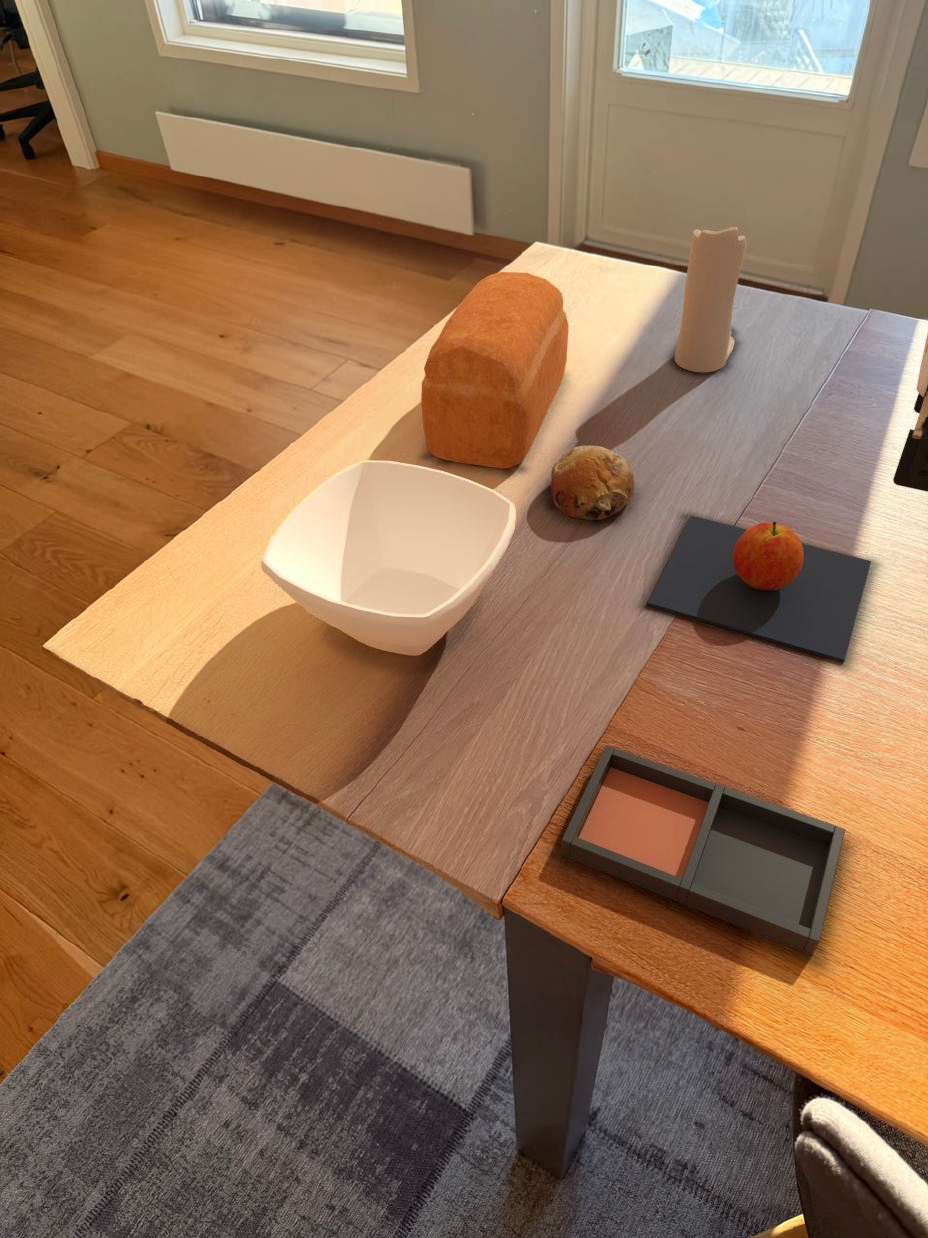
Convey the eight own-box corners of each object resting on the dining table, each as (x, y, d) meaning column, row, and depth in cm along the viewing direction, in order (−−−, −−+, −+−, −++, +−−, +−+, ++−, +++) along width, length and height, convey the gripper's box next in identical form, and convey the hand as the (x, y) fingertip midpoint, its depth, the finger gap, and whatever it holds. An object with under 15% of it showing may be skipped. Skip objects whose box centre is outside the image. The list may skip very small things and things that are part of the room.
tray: (838, 843, 75) (845, 828, 73) (812, 956, 68) (819, 942, 67) (604, 760, 82) (606, 744, 80) (560, 854, 75) (561, 840, 73)
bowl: (368, 527, 107) (355, 444, 98) (540, 581, 99) (542, 496, 91) (254, 652, 93) (229, 567, 85) (443, 726, 85) (435, 641, 77)
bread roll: (632, 510, 113) (642, 445, 110) (624, 528, 103) (634, 459, 100) (554, 499, 115) (561, 435, 112) (539, 516, 105) (547, 448, 103)
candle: (742, 332, 136) (769, 194, 122) (717, 376, 127) (743, 233, 113) (695, 323, 138) (716, 187, 124) (668, 366, 130) (686, 225, 116)
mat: (870, 563, 99) (871, 560, 98) (843, 662, 89) (844, 660, 88) (690, 517, 106) (690, 515, 105) (646, 605, 96) (647, 602, 95)
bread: (571, 370, 130) (576, 261, 119) (522, 475, 113) (523, 359, 102) (479, 358, 134) (476, 252, 122) (418, 458, 116) (408, 345, 105)
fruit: (805, 600, 95) (824, 541, 89) (741, 608, 94) (755, 549, 88) (780, 556, 99) (796, 498, 94) (719, 564, 99) (731, 506, 93)
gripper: (1089, 264, 45) (973, 533, 57) (1095, 154, 56) (996, 399, 68) (927, 244, 48) (848, 505, 60) (963, 142, 59) (890, 380, 70)
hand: (927, 449), depth 64 cm, fingers open, 9 cm apart
